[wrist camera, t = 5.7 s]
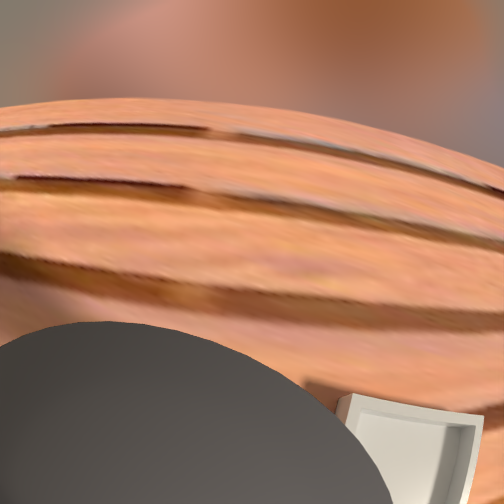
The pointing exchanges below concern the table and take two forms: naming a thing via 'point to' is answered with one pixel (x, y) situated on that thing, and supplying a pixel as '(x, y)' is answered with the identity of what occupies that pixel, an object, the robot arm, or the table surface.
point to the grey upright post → (166, 425)
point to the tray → (416, 447)
